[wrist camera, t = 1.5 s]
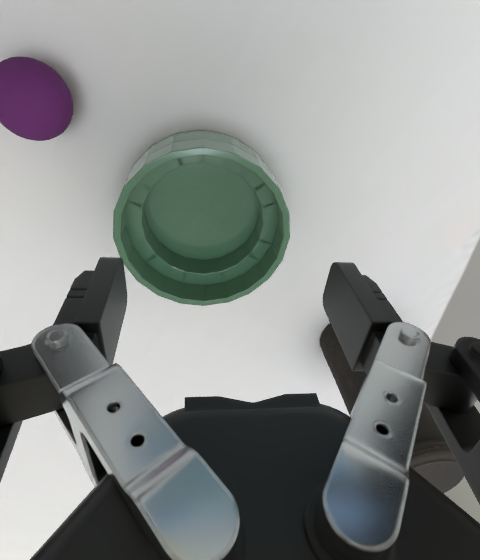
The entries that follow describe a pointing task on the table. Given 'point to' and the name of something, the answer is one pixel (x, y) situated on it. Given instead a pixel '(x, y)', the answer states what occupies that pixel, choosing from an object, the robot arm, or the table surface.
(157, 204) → the bowl
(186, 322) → the table surface
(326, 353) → the container
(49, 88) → the ball
